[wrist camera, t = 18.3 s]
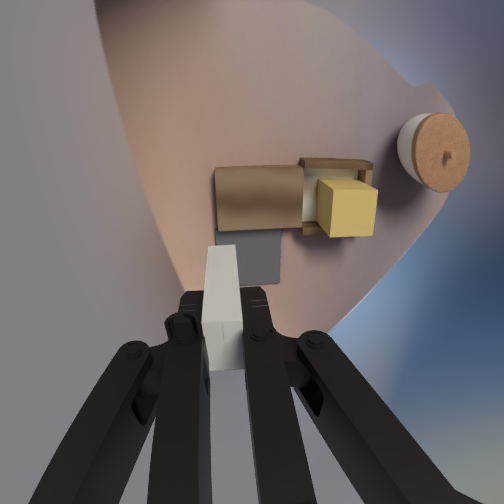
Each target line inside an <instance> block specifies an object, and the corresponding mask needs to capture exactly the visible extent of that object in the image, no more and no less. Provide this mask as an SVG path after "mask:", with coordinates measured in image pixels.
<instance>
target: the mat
mask: <svg viewBox="0 0 504 504" xmlns="http://www.w3.org/2000/svg"><path fill="white" fill-rule="evenodd" d="M215 236H216V246H218V245H235V247H236V258H237V268H238V279H239V286H242V285H258V284H272V283H280V254H281V228H272V229H252V230H233V231H218V229H215Z"/></svg>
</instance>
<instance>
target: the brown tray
mask: <svg viewBox="0 0 504 504" xmlns="http://www.w3.org/2000/svg"><path fill="white" fill-rule="evenodd" d="M372 172H373V163H372V162H369V161H366V160H356V159H335V158H300V165H264V166H236V167H217V168H215V187H216V204H217V219H218V231H233V230H252V229H272V228H294V227H298V229H299V231H300V233H301V234H302V236H303V235H325V234H327V233H326V232H325V231H324V230H323V229H322V227H321V226H320V225H319V224H318V223H317V221H316V209H317V191H318V179H358V180H360V181H362V182H364V183H366V184H367V185H369V186H371V184H372ZM306 221H310V222H306Z"/></svg>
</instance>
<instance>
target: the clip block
mask: <svg viewBox="0 0 504 504" xmlns="http://www.w3.org/2000/svg"><path fill="white" fill-rule="evenodd" d="M377 196H378V190H377V189H375V188H373V187H371V186H369V185H367V184H366V183H364V182H362V181H360V180H358V179H318V191H317V209H316V221H317V223H318V224H319V225H320V226H321V227H322V229H323V230H324V231H325V232H326V233H327V235H328V236H329V237H350V236H372V234H373V228H374V220H375V213H376V205H377Z"/></svg>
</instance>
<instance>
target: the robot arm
mask: <svg viewBox="0 0 504 504" xmlns="http://www.w3.org/2000/svg"><path fill="white" fill-rule="evenodd" d="M164 324H165V328H166V331H167V335H168V341H167V342H165V343H163V344H161V345H158V346H154V347H149V346H148V345H147V344H146V343H144V342H142V341H130V342H127V343H126V344H124V345H122V346H121V347H120V349H119V350H118V352H117V353H116V354H115V356H114V357H113V359H112V360H111V362H110V363H109V365H108V367H107V368H106V370H105V371H104V373H103V374H102V376H101V377H100V379H99V381H98V382H97V384H96V385H95V387H94V388H93V390H92V392H91V393H90V395H89V396H88V398H87V400H86V401H85V403H84V404H83V406H82V408H81V409H80V411H79V413H78V414H77V416H76V418H75V419H74V421H73V423H72V425H71V426H70V428H69V430H68V431H67V433H66V435H65V436H64V438H63V440H62V442H61V443H60V445H59V447H58V449H57V450H56V452H55V454H54V456H53V458H52V459H51V461H50V463H49V465H48V467H47V469H46V471H45V472H44V474H43V476H42V478H41V480H40V482H39V484H38V486H37V488H36V490H35V492H34V494H33V496H32V498H31V500H30V502H29V504H119V501H120V499H121V497H122V494H123V492H124V489H125V487H126V484H127V482H128V480H129V477H130V475H131V473H132V470H133V468H134V465H135V463H136V461H137V458H138V456H139V454H140V451H141V449H142V447H143V444H144V442H145V440H146V437H147V435H148V433H149V430H150V428H151V426H152V423H153V421H154V419H155V417H156V420H155V427H154V436H153V444H152V453H151V462H150V473H149V485H148V498H147V504H212V483H211V447H210V445H211V444H210V377H209V369H210V371H216V370H217V371H218V370H236V369H245V382H246V391H247V401H248V411H249V421H250V431H251V439H252V448H253V458H254V467H255V476H256V484H257V492H258V501H259V504H317V501H316V497H315V493H314V488H313V484H312V479H311V475H310V471H309V466H308V462H307V457H306V453H305V449H304V444H303V440H302V436H301V432H300V427H299V423H298V418H297V414H296V410H295V406H294V401H293V397H292V393H291V388H290V387H293V388H294V390H295V392H296V394H297V395H298V397H299V399H300V400H301V402H302V404H303V405H304V407H305V409H306V410H307V412H308V414H309V415H310V417H311V419H312V420H313V422H314V424H315V425H316V427H317V429H318V430H319V432H320V434H321V435H322V437H323V439H324V440H325V442H326V443H327V445H328V447H329V448H330V450H331V452H332V453H333V455H334V456H335V458H336V460H337V461H338V463H339V464H340V466H341V468H342V469H343V471H344V472H345V474H346V476H347V477H348V478H349V480H350V482H351V483H352V485H353V486H354V488H355V490H356V491H357V493H358V494H359V496H360V497H361V499H362V500H363V502H364V503H365V504H482V503H480V502H478V501H476V500H474V499H472V498H470V497H468V496H466V495H464V494H462V493H460V492H458V491H456V490H455V489H454V488H453V487H452V486H451V484H450V483H449V482H448V481H447V479H446V478H445V477H444V476H443V474H442V473H441V472H440V471H439V469H438V468H437V467H436V466H435V464H434V463H433V462H432V461H431V459H430V458H429V457H428V456H427V454H426V453H425V452H424V451H423V450H422V448H421V447H420V446H419V445H418V443H417V442H416V441H415V440H414V438H413V437H412V436H411V435H410V433H409V432H408V431H407V430H406V429H405V427H404V426H403V425H402V423H401V422H400V421H399V420H398V419H397V418H396V416H395V415H394V414H393V412H392V411H391V410H390V409H389V408H388V406H387V405H386V404H385V403H384V401H383V400H382V399H381V398H380V396H379V395H378V394H377V393H376V392H375V391H374V389H373V388H372V387H371V385H370V384H369V383H368V382H367V381H366V379H365V378H364V377H363V376H362V374H361V373H360V372H359V371H358V370H357V369H356V368H355V366H354V365H353V364H352V362H351V361H350V360H349V359H348V357H347V356H346V355H345V354H344V353H343V352H342V350H341V349H340V348H339V347H338V345H337V344H336V343H335V342H334V340H333V339H332V338H331V337H330V336H329V335H328V334H327V333H324V332H322V331H317V330H312V331H307V332H305V333H302V334H301V336H300V337H299V338H291V337H286V336H283V335H281V334H279V333H278V332H277V331H276V329H274V327H273V323H272V319H271V314H270V310H269V306H268V301H267V297H266V293H265V291H264V290H263V289H262V288H261V287H260V286H258V287H242V288H239V279H238V268H237V258H236V247H235V245H218V246H208V255H207V265H206V275H205V286H204V290H202V291H186V292H185V293H184V295H183V296H182V297H181V299H180V306H179V311H178V312H177V313H175V314H172V315H170V316H169V317H168V318H167V319H166V321H165V323H164Z"/></svg>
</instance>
